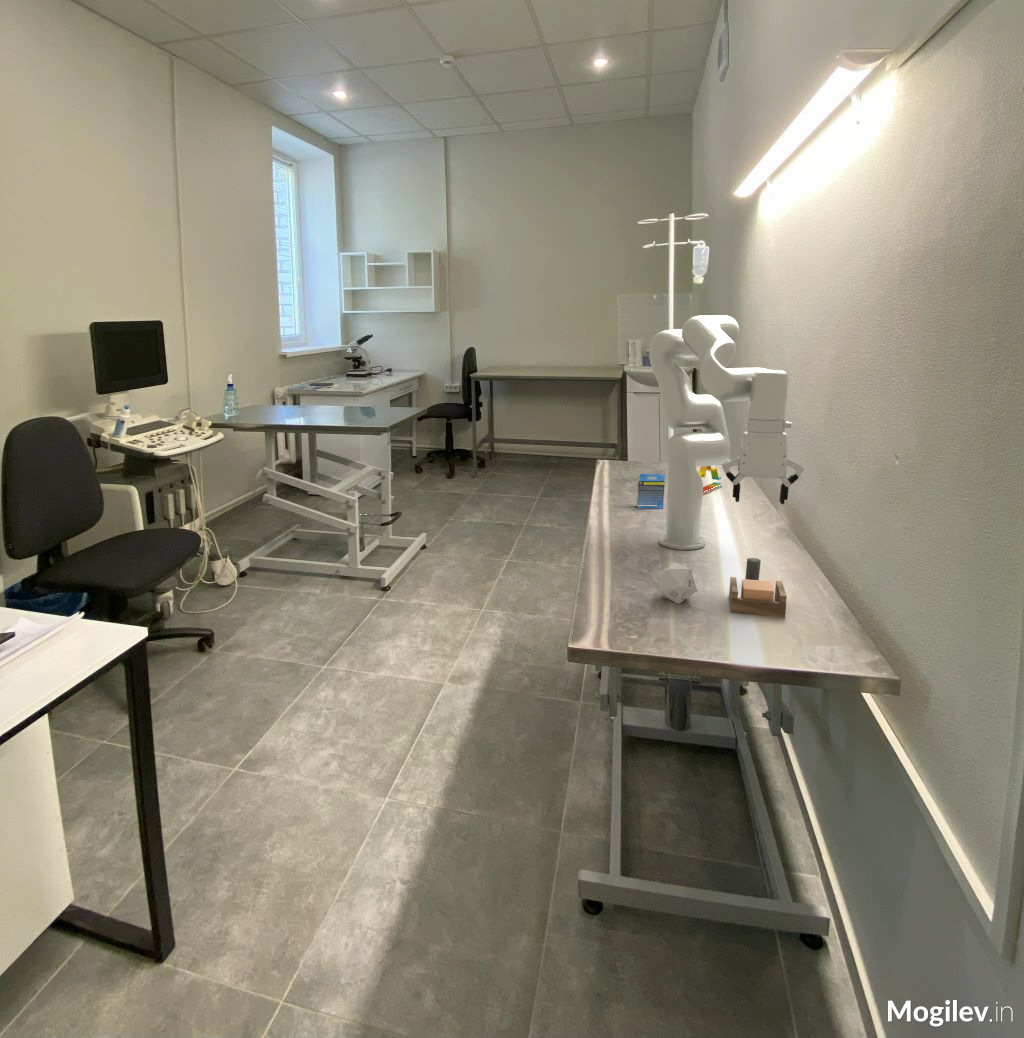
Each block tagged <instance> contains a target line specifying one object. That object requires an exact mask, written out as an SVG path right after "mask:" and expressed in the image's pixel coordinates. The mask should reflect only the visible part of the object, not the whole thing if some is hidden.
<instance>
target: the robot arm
mask: <svg viewBox="0 0 1024 1038" xmlns="http://www.w3.org/2000/svg"><path fill="white" fill-rule="evenodd" d="M740 331H741V330H740V326H739V324H738V322H737V321H736V319H735V318H733V317H732V316H729V315H696V316H693V317H690V318H689V319H688V320H686V321H685V322H684V324H683V325H682V327H681V328H676V329H675V328H672V329H665V330H662V331H659V332H657V333H655V335H653V337H652V339H651V341H650V344H649V353H648V354H649V355H648V356H649V363H650V366H651V369H652V372H653V374H654V377H655V379H656V381H657V384H658V388H659V391H660V393H659V394H660V398H661V402H662V408H663V413H664V418H665V422H666V425H667V426H668V427H669V428H670V429H672V430H676V431H677V430H678V431H681V430H684V431H685V430H701V431H691V432H690V431H688V432H686V431H685V432H679V433H676V434H674V435H672V436H670V437H669V438H668V439H667V441H666V443H665V444H666V445H665V457H666V465H667V489H666V491H667V492H666V493H667V494H666V508H665V509H666V511H665V515H666V516H665V529H664V530H665V531H664V533H665V534H663V535H661V536H659V539H658V540H659V541H658V542H659V544H660V545H661V546H663V547H666V548H669V549H673V550H682V551H684V550H686V551H687V550H688V551H689V550H690V551H691V550H699V549H702V548H703V547H705V545H706V540H705V539H704V537H701V536H700V535H701V525H702V524H701V522H702V506H703V495H702V494H703V487H704V482H703V479H702V477H700V475H699V474H698V472H699V471H698V470H697V468H699V467H701V466H711V467H712V466H713V467H714V466H720V465H721V468H722V470H723V472H724V474H725V476H726V478H727V479H728V480H729V481H730V482H731V483H732V484H733V488H732V498H735V502H736V503H739V502H740V494H741V483H740V482H741V481H742V480H743V479H744V478H758V479H779V480H780V481H781V482H782V484H780V490H779V491H780V492H779V504H781V505H785V501H788V500H789V499H788V497H789V488H790V487H791V485H793V484H794V483H795V482H796V481H797V480H798V479H799V477H800V476H801V475H802V473H803V472H804V470H805V468H804V466H802V465H801V464H798V463H796V462H795V461H793V460H791V459H789V458H788V436H787V433H786V432H785V430H786V429H791V428H792V422H791V421H790V422H789V421H787V420H786V418H785V417H786V408H787V398H788V397H787V396H788V387H789V385H788V384H789V374H788V373H787V371H785V370H779V369H767V368H764V367H734V368H733V367H732V368H731V367H730V368H727V367H728V366H729V365H730V364H731V363H732V361H734V358H735V356H736V353H737V347H736V346H737V345H736V344H737V343H738V341H739V338H740ZM688 361H691V362H693V361H700V365H699V379H700V383H701V385H702V386H703V388H704V389H705V390H706V392H707V393H706V394H701V393H700V394H695V393H694V392H693V389H692V388H693V387H692V383H691V379H690V376H689V375H688V374H687V372H686V371H685V370H684V369H683V367H682V366H680V365H679V364H678V363H677V362H688ZM721 402H723V403H734V402H736V403H737V402H749V407H748V408H749V410H748V416H747V417H748V420H747V429H746V430H747V431H743V435H742V438H741V442H740V446H739V454H738V457H735V458H732V459H731V460H729V457H730V456H731V442H730V435H729V432H728V425H727V422H726V421H727V420H726V416H725V412H724V408H723V404H722V403H721ZM728 460H729V461H728ZM735 466H737V471H738V473H737V474H735V475H734V474H733V473H732V471H731V468H732V467H735ZM788 467H789V468H792V469H793V470H794V472H793V473H792V474H791V475H790V476H789V477H787V476H786V475H787V469H788ZM697 471H698V472H697Z"/></svg>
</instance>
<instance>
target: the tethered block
mask: <svg viewBox="0 0 1024 1038" xmlns="http://www.w3.org/2000/svg"><path fill="white" fill-rule="evenodd" d="M745 567H746V568H745V576H744V577H745V578H743V579H742V581H741V592H740V593H741V594H740V598H745V599H757V600H768V601H774V597H775V589H774V586H773V582H772V580H771V581H770V580H760V572H761V559H759V558H756V557H749V558H747V559H746V566H745Z"/></svg>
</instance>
